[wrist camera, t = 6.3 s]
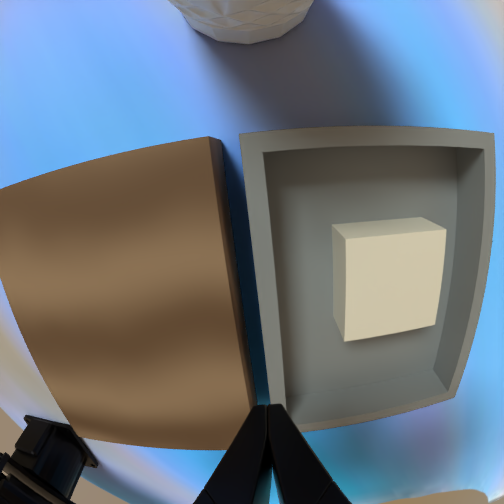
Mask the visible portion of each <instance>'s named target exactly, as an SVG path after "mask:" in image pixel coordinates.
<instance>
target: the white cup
mask: <svg viewBox="0 0 504 504" xmlns="http://www.w3.org/2000/svg"><path fill="white" fill-rule="evenodd" d="M168 1H169V2H170V3H171V4H172V5H174V6H175V7H176V8H177V9H178V10H179V11H180V12H181V13H182V14H183V15H184V17H185V18H186V20H187V21H188V23H189V24H190V25H191V27H192V28H193V29H195V30H197V31H199V32H201V33H203V34H205V35H207V36H209V37H211V38H213V39H215V40H216V41H221V42H232V43H241V44H253V43H257V42H261V41H265V40H270V39H274V38H279V37H281V36H282V35H284V34H285V33H287V32H288V31H289V30H291V29H292V28H294V27H295V26H297V25H298V24H299V23H301V22H302V21H303V20H304V18H305V16H306V14H307V12H308V10H309V8H310V6H311V4H312V3H313V1H314V0H168Z"/></svg>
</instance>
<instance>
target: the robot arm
mask: <svg viewBox="0 0 504 504" xmlns="http://www.w3.org/2000/svg"><path fill="white" fill-rule="evenodd" d="M24 420H25V422H26V423H27V427H26V428H25V430H24V431H23V433H22V434H21V436H20V438H19V439H18V441H17V442H16V444H15V448H16V450H15V452H14V453H13V455H12V456H11V457H10V456H9V455H8V454H7V453H6V452H5V453H4V454H2V453H0V504H76V503H73V502H72V501H70V499H71V496H72V494H73V491H74V489H75V487H76V484H77V482H78V480H79V477H80V475H81V473H82V471H83V468H84V466H88V467H93V468H97V467H98V463H97V462H96V460H95V459H94V458H93V456H92V455H91V454H90V452H89V451H88V450H87V448H86V447H85V445H84V444H83V443H82V441H81V440H80V438H79V437H78V435H77V434H76V432H75V431H74V429H73V428H72V427H71V426H69V425H66V424H62V423H57V422H53V421H48V420H44V419H40V418H36V417H32V416H29V415H25V417H24ZM272 467H273V474H274V479H275V484H276V488H277V493H278V498H279V502H280V504H352V503H351V502H350V501H349V500H348V498H347V497H346V496H345V495H344V493H343V492H342V491H341V490H340V488H339V487H338V485H337V484H336V483H335V482H334V481H333V479H332V477H331V476H330V474H329V473H328V472H327V470H326V469H325V467H324V466H323V464H322V463H321V462H320V460H319V459H318V457H317V456H316V454H315V453H314V451H313V450H312V448H311V447H310V446H309V444H308V443H307V441H306V440H305V438H304V437H303V435H302V434H301V432H300V431H299V429H298V428H297V426H296V425H295V423H294V422H293V420H292V419H291V417H290V415H289V414H288V412H287V411H286V409H285V408H284V406H283V405H282V404H281V403H277V404H269V405H268V407H267V405H254V406H253V407H252V408H251V410H250V412H249V414H248V415H247V417H246V419H245V421H244V422H243V424H242V426H241V428H240V429H239V431H238V433H237V434H236V436H235V438H234V440H233V441H232V443H231V445H230V446H229V448H228V450H227V451H226V453H225V455H224V456H223V458H222V460H221V461H220V463H219V464H218V466H217V468H216V469H215V471H214V472H213V474H212V476H211V477H210V479H209V480H208V482H207V484H206V485H205V487H204V489H203V490H202V491H201V493H200V494H199V496H198V497H197V499H196V500H195V502H194V503H193V504H269V498H270V489H271V478H272ZM2 470H3V471H4V472H6V473H7V474H8V475H7V476H5V475H4V474H3V473H2Z"/></svg>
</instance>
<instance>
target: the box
mask: <svg viewBox="0 0 504 504" xmlns="http://www.w3.org/2000/svg"><path fill="white" fill-rule="evenodd" d="M239 139H240V148H241V156H242V164H243V173H244V181H245V190H246V198H247V207H248V215H249V224H250V232H251V241H252V249H253V258H254V266H255V274H256V283H257V291H258V300H259V309H260V317H261V326H262V334H263V343H264V351H265V360H266V368H267V377H268V385H269V394H270V402H271V404H277V403H281V404H282V405H283V406H284V408H285V409H286V411H287V412H288V414H289V415H290V417H291V419H292V420H293V422H294V423H295V425H296V426H297V428H298V429H299V431H300V432H308V431H315V430H322V429H329V428H335V427H341V426H347V425H352V424H357V423H362V422H367V421H372V420H376V419H381V418H385V417H389V416H393V415H397V414H401V413H405V412H409V411H412V410H416V409H419V408H423V407H426V406H429V405H433V404H436V403H439V402H442V401H445V400H448V399H451V398H454V397H455V395H456V392H457V389H458V387H459V384H460V381H461V378H462V375H463V372H464V369H465V366H466V363H467V360H468V357H469V353H470V350H471V346H472V343H473V339H474V336H475V332H476V328H477V324H478V320H479V316H480V311H481V307H482V302H483V297H484V292H485V287H486V281H487V275H488V269H489V262H490V255H491V246H492V237H493V226H494V212H495V186H496V166H495V140H494V133H488V132H479V131H470V130H460V129H448V128H433V127H413V126H332V127H311V128H295V129H282V130H271V131H260V132H251V133H242V134H239ZM416 217H423V218H425V219H427V220H429V221H431V222H433V223H435V224H437V225H439V226H441V227H443V228H445V229H446V244H445V256H444V266H443V274H442V282H441V290H440V297H439V303H438V309H437V315H436V321H435V325H432V326H427V327H422V328H418V329H413V330H408V331H403V332H398V333H393V334H387V335H382V336H376V337H371V338H365V339H358V340H352V341H346V342H344V340H343V338H342V335H341V333H340V330H339V328H338V326H337V323H336V321H335V319H334V316H333V247H332V225H333V224H344V223H355V222H367V221H379V220H391V219H403V218H416Z"/></svg>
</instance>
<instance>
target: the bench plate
mask: <svg viewBox="0 0 504 504" xmlns="http://www.w3.org/2000/svg"><path fill="white" fill-rule="evenodd" d="M0 278H1V281H2V284H3V287H4V290H5V293H6V296H7V298H8V301H9V304H10V307H11V309H12V312H13V314H14V317H15V319H16V322H17V324H18V327H19V329H20V331H21V334H22V336H23V338H24V340H25V343H26V345H27V347H28V349H29V351H30V353H31V356H32V358H33V360H34V362H35V364H36V366H37V368H38V370H39V372H40V373H41V375H42V377H43V379H44V381H45V383H46V385H47V386H48V388H49V390H50V392H51V394H52V395H53V397H54V399H55V400H56V402H57V404H58V405H59V407H60V409H61V410H62V412H63V414H64V415H65V417H66V418H67V420H68V421H69V423H70V425H71V426H72V428H73V429H74V431H75V432H76V434H77V435H78V436H79V437H83V438H88V439H94V440H100V441H106V442H112V443H119V444H126V445H134V446H144V447H154V448H167V449H185V450H228V448H229V446H230V445H231V443H232V441H233V440H234V438H235V436H236V434H237V433H238V431H239V429H240V428H241V426H242V424H243V422H244V421H245V419H246V417H247V415H248V414H249V412H250V410H251V408H252V407H253V406H254V405H257V397H256V391H255V384H254V378H253V371H252V364H251V358H250V351H249V344H248V338H247V331H246V324H245V317H244V310H243V303H242V296H241V289H240V282H239V274H238V267H237V260H236V253H235V245H234V238H233V230H232V223H231V215H230V207H229V200H228V192H227V184H226V176H225V168H224V160H223V152H222V144H221V140H219V139H216V138H213V137H209V136H207V137H200V138H194V139H188V140H182V141H176V142H171V143H166V144H160V145H155V146H150V147H145V148H141V149H136V150H131V151H127V152H123V153H118V154H114V155H110V156H106V157H102V158H98V159H94V160H90V161H86V162H83V163H79V164H76V165H72V166H69V167H65V168H62V169H58V170H55V171H52V172H49V173H45V174H42V175H39V176H36V177H33V178H30V179H27V180H24V181H21V182H19V183H16V184H13V185H10V186H7V187H5V188H2V189H0Z"/></svg>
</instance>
